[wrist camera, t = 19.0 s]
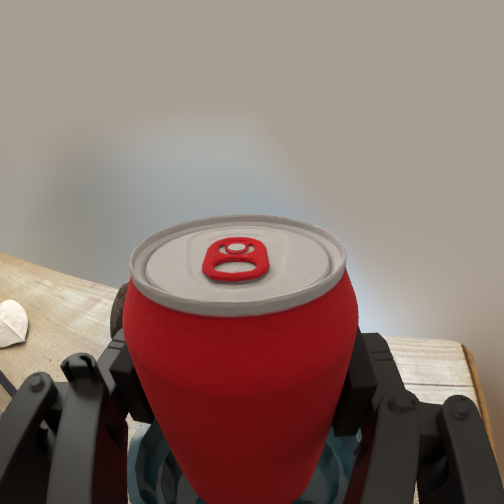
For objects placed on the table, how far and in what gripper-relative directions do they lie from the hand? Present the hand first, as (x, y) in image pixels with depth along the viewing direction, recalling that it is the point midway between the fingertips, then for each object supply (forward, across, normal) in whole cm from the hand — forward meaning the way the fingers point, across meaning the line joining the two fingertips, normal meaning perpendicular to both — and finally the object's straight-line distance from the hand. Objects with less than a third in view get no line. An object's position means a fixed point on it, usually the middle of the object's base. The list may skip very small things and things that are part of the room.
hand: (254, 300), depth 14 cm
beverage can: (-5, 0, -7) cm, 9 cm away
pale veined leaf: (+5, -31, -8) cm, 33 cm away
